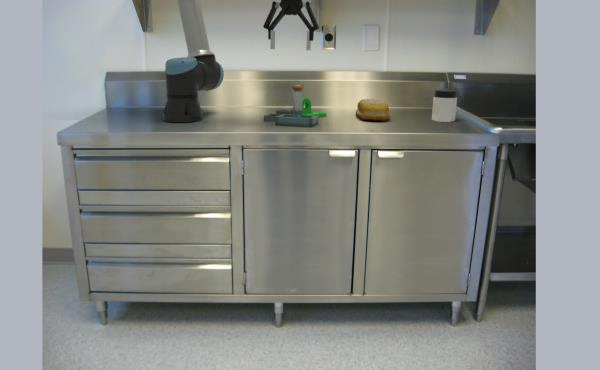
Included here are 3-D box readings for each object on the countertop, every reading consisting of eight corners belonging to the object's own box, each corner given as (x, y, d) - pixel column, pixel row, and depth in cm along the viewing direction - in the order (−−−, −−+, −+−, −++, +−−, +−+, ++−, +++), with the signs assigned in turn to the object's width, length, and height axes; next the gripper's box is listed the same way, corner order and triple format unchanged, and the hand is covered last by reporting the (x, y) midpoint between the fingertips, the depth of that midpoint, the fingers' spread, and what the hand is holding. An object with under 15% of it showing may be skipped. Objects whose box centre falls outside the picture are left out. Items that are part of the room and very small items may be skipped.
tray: (275, 125, 176) (275, 116, 176) (283, 122, 185) (283, 114, 184) (312, 127, 173) (312, 118, 172) (318, 123, 182) (318, 115, 181)
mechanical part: (307, 120, 194) (308, 99, 192) (297, 118, 198) (297, 98, 196) (329, 118, 202) (330, 98, 200) (319, 116, 206) (319, 97, 204)
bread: (358, 122, 189) (359, 101, 187) (352, 115, 215) (353, 96, 213) (394, 123, 189) (395, 102, 187) (383, 115, 215) (384, 96, 213)
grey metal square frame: (263, 121, 188) (263, 115, 187) (269, 119, 194) (269, 113, 194) (281, 121, 186) (281, 116, 186) (286, 119, 193) (286, 114, 192)
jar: (458, 122, 193) (461, 91, 190) (441, 123, 190) (444, 91, 187) (445, 119, 201) (447, 89, 198) (427, 120, 198) (430, 89, 195)
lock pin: (289, 122, 177) (290, 85, 174) (292, 120, 181) (293, 84, 178) (301, 122, 176) (302, 85, 173) (304, 121, 180) (305, 84, 177)
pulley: (272, 117, 198) (272, 107, 197) (279, 115, 207) (279, 105, 206) (294, 118, 196) (294, 108, 195) (300, 116, 204) (300, 106, 203)
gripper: (254, -15, 175) (254, 48, 180) (323, -15, 168) (321, 50, 174) (262, -12, 182) (261, 48, 187) (329, -12, 175) (326, 51, 181)
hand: (290, 49), depth 180 cm, fingers open, 13 cm apart
